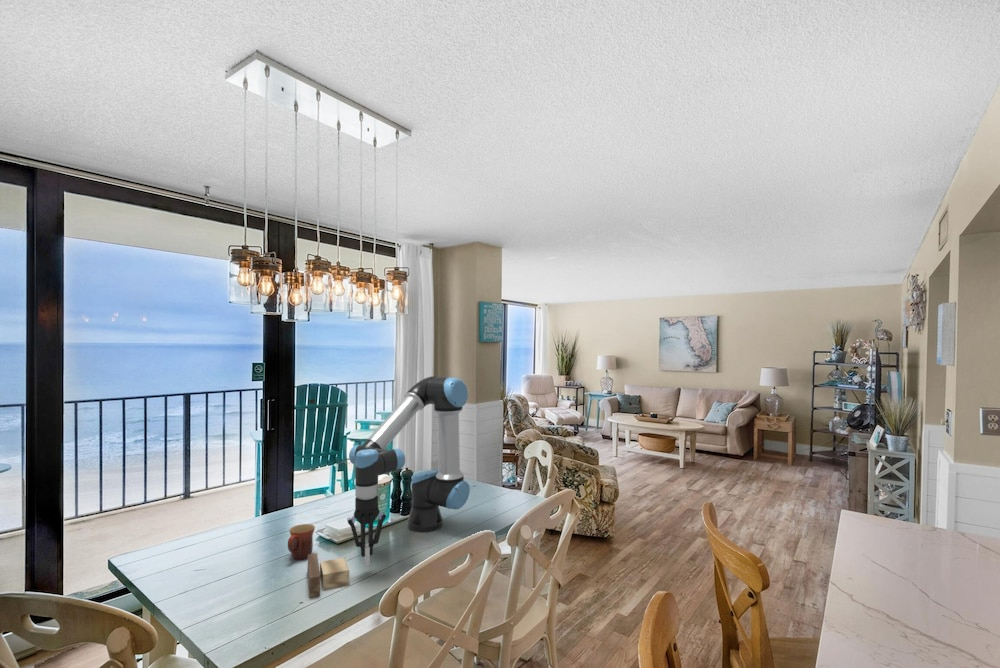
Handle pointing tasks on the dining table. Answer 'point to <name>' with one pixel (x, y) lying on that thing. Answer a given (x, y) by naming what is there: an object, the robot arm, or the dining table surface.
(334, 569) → the oak block
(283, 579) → the dining table surface
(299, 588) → the dining table surface
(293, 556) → the mug
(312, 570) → the wooden block
